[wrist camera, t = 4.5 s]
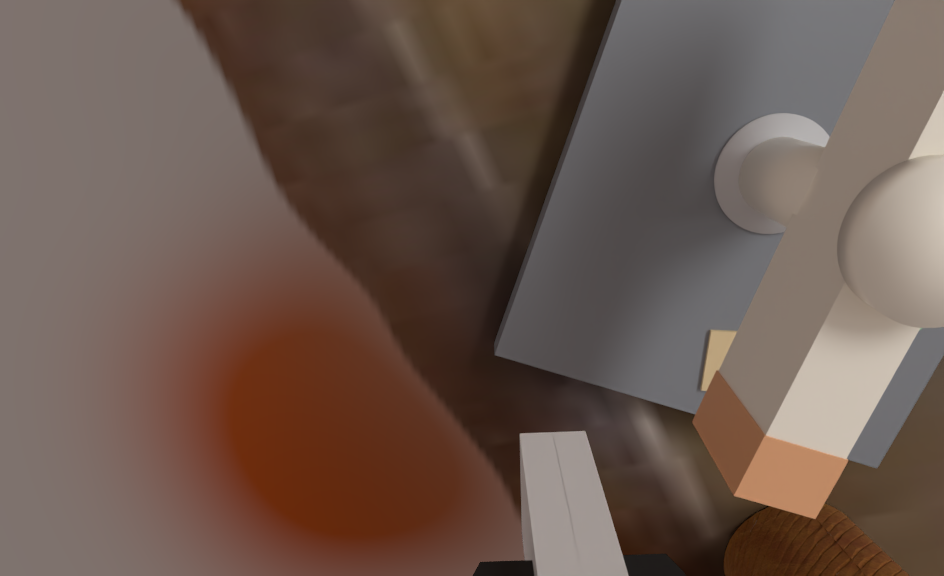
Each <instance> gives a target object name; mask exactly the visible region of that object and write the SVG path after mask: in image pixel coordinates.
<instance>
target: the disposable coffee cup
mask: <svg viewBox="0 0 944 576" xmlns="http://www.w3.org/2000/svg"><path fill="white" fill-rule="evenodd" d="M724 573H725V576H909V575H908V574H907V573H906V572H905V571H904V570H903V571H902V569H901V567H900V566H899V565H898V564H897V563H895V562H894V561H892V559H891V558H890V557H889V556H888V555H887V554H886V553H885V552H882V549H881V548H880V547H879V546H877V545H876V544H875V543H873V541H872V540H871V539H870V538H869V537H868V536H867V535H866V534H864V532H863V531H862V530H861V529H859V528H858V527H857V526H855V524H854V523H853V522H852V521H851V520H850V519H849V518H848V517H847V516H846V515H845V514H844V513H842V512H841V511H839V510H837V509H836V508H834V507H832V506H830V505H827V504H824V505H823V507H822V508H821V510H820V512H819V514H818V515H817V517H816V519H813V518H810V517H806V516H803V515H799V514H796V513H792V512H789V511H785V510H782V509H778V508H775V507H771V506H770V507H767V508H765V509H763V510H761V511H759V512H757V513H756V514H754V515H753V516H752V517H750V518H749V519H748V520H746V521H745V522H744V523H743V524H742V525H741V526H740V527H739V528H738V529H737V530H736V531H735V533H734V534H733V536H732V537H731V539H730V541H729V543H728V546H727V548H726V551H725V556H724Z"/></svg>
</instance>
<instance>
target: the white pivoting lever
mask: <svg viewBox="0 0 944 576" xmlns="http://www.w3.org/2000/svg"><path fill="white" fill-rule="evenodd" d="M739 188H740V192H741V194H742V196H743V198H744V200H745V201H746V202H747V203H748V205H750V206H751V207H752V208H753V209H755V210H757V211H759V212H760V213H762V214H764V215H765V216H767V217H769V218H771V219H772V220H774V221H776V222H777V223H779V224H781V225H783V226H784V227H786V230H785V232H784V234H783V237H782V239H781V241H780V243H779V245H778V247H777V249H776V251H775V253H774V255H773V258H772V260H771V262H770V264H769V266H768V268H767V270H766V272H765V274H764V276H763V279H762V281H761V283H760V285H759V287H758V289H757V291H756V293H755V295H754V297H753V300H752V302H751V304H750V306H749V308H748V310H747V312H746V314H745V316H744V318H743V321H742V323H741V325H740V327H739V329H738V331H737V333H736V335H735V337H734V339H733V342H732V344H731V346H730V348H729V350H728V352H727V354H726V356H725V358H724V360H723V363H722V365H721V367H720V369H719V371H718V370H716V372H715V374H714V376H713V378H712V381H711V383H710V385H709V387H708V389H707V391H706V393H705V395H704V397H703V400H702V402H701V404H700V406H699V408H698V410H697V412H696V414H695V416H694V419H693V421H692V423H693V425H694V426H695V428H696V430H697V432H698V433H699V435H700V437H701V439H702V441H703V442H704V444H705V446H706V448H707V449H708V451H709V453H710V455H711V456H712V458H713V460H714V462H715V463H716V465H717V467H718V469H719V471H720V472H721V474H722V476H723V478H724V479H725V481H726V483H727V485H728V486H729V488H730V490H731V492H732V493H733V495H734V496H736V497H740V498H743V499H747V500H750V501H754V502H757V503H761V504H764V505H768V506H771V507H775V508H778V509H782V510H785V511H789V512H792V513H796V514H799V515H803V516H806V517H810V518H813V519H816V517H817V515H818V514H819V512H820V510H821V508H822V507H823V505H824V503H825V501H826V500H827V498H828V496H829V494H830V493H831V491H832V489H833V487H834V486H835V484H836V482H837V480H838V479H839V477H840V475H841V473H842V472H843V470H844V468H845V466H846V464H847V463H848V459H847V457H848V455H849V453H850V451H851V450H852V448H853V446H854V444H855V443H856V441H857V439H858V437H859V436H860V434H861V432H862V430H863V428H864V427H865V425H866V423H867V421H868V420H869V418H870V416H871V414H872V413H873V411H874V409H875V407H876V406H877V404H878V402H879V400H880V398H881V397H882V395H883V393H884V391H885V390H886V388H887V386H888V384H889V383H890V381H891V379H892V377H893V376H894V374H895V372H896V370H897V368H898V367H899V365H900V363H901V361H902V360H903V358H904V356H905V354H906V353H907V351H908V349H909V347H910V346H911V344H912V342H913V340H914V339H915V337H916V335H917V333H918V331H919V330H920V328H938V327H944V0H895V1H894V3H893V5H892V8H891V10H890V12H889V14H888V16H887V18H886V20H885V22H884V24H883V26H882V29H881V31H880V33H879V35H878V37H877V39H876V41H875V43H874V45H873V47H872V50H871V52H870V54H869V56H868V58H867V60H866V62H865V64H864V66H863V68H862V71H861V73H860V75H859V77H858V79H857V81H856V83H855V85H854V87H853V89H852V92H851V94H850V96H849V98H848V100H847V102H846V104H845V106H844V108H843V110H842V113H841V115H840V117H839V119H838V121H837V123H836V125H835V127H834V129H833V131H832V134H831V136H830V138H829V140H828V142H827V144H826V146H825V147H822V146H819V145H815V144H812V143H808V142H805V141H801V140H798V139H794V138H790V137H776V138H772V139H769V140H766V141H764V142H762V143H761V144H759V145H758V146H756V147H755V148H754V149H753V150H752V151H751V152H750V153H749V154H748V155H747V157H746V158H745V160H744V162H743V164H742V166H741V169H740V173H739Z"/></svg>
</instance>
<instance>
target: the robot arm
mask: <svg viewBox="0 0 944 576" xmlns="http://www.w3.org/2000/svg"><path fill="white" fill-rule="evenodd" d="M520 473H521V517H522V539H523V548H524V558H525V561H498V562H497V561H496V562H480V563H479V565H478V567H477V569H476V571H475V573H474V574H473V576H686V575H685V573H684V572H683V571H682V570H681V569H680V568H679V567H678V566H677V565H676V564H675V563H674V562H673V561H672V560H671V559H670V558H669V557H668V556H667V555H666V554H645V555H622V552H621V548H620V545H619V542H618V538H617V535H616V532H615V528H614V525H613V522H612V518H611V515H610V512H609V508H608V505H607V502H606V498H605V495H604V492H603V488H602V485H601V482H600V478H599V475H598V472H597V468H596V465H595V462H594V458H593V455H592V452H591V449H590V445H589V442H588V439H587V435H586V432H585V431H572V432H545V433H520Z"/></svg>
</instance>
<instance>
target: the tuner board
mask: <svg viewBox="0 0 944 576" xmlns="http://www.w3.org/2000/svg"><path fill="white" fill-rule="evenodd" d="M894 1H895V0H616V2H615V5H614V8H613V10H612V13H611V16H610V19H609V22H608V24H607V27H606V30H605V33H604V36H603V38H602V41H601V44H600V47H599V50H598V52H597V55H596V58H595V61H594V64H593V67H592V69H591V72H590V75H589V78H588V81H587V83H586V86H585V89H584V92H583V95H582V97H581V100H580V103H579V106H578V109H577V111H576V114H575V117H574V120H573V123H572V125H571V128H570V131H569V134H568V137H567V140H566V142H565V145H564V148H563V151H562V154H561V156H560V159H559V162H558V165H557V168H556V170H555V173H554V176H553V179H552V182H551V184H550V187H549V190H548V193H547V196H546V198H545V201H544V204H543V207H542V210H541V213H540V215H539V218H538V221H537V224H536V227H535V229H534V232H533V235H532V238H531V241H530V243H529V246H528V249H527V252H526V255H525V257H524V260H523V263H522V266H521V269H520V271H519V274H518V277H517V280H516V283H515V286H514V288H513V291H512V294H511V297H510V300H509V302H508V305H507V308H506V311H505V314H504V316H503V319H502V322H501V325H500V328H499V330H498V333H497V336H496V339H495V342H494V354H495V355H496V356H500V357H503V358H506V359H510V360H513V361H516V362H520V363H523V364H527V365H530V366H533V367H537V368H540V369H543V370H547V371H550V372H554V373H557V374H560V375H564V376H567V377H570V378H574V379H577V380H581V381H584V382H587V383H591V384H594V385H597V386H601V387H604V388H608V389H611V390H614V391H618V392H621V393H624V394H628V395H631V396H635V397H638V398H641V399H645V400H648V401H651V402H655V403H658V404H662V405H665V406H668V407H672V408H675V409H678V410H682V411H685V412H689V413H692V414H696V412H697V410H698V408H699V406H700V404H701V402H702V400H703V397H704V395H705V393H706V391H707V389H708V387H709V385H710V383H711V381H712V378H713V376H714V374H715V372H716V370H718V371H719V369H720V367H721V365H722V363H723V360H724V358H725V356H726V354H727V352H728V350H729V348H730V346H731V344H732V342H733V339H734V337H735V335H736V333H737V331H738V329H739V327H740V325H741V323H742V321H743V318H744V316H745V314H746V312H747V310H748V308H749V306H750V304H751V302H752V300H753V297H754V295H755V293H756V291H757V289H758V287H759V285H760V283H761V281H762V279H763V276H764V274H765V272H766V270H767V268H768V266H769V264H770V262H771V260H772V258H773V255H774V253H775V251H776V249H777V247H778V245H779V243H780V241H781V239H782V237H783V234H784V232H785V230H786V227H784V226H783V225H781V224H779V223H777V222H776V221H774V220H772V219H771V218H769V217H767V216H765V215H764V214H762V213H760V212H759V211H757V210H755V209H753V208H752V207H751V206H750V205H748V203H747V202H746V201H745V200H744V198H743V196H742V194H741V192H740V188H739V173H740V169H741V166H742V164H743V162H744V160H745V158H746V157H747V155H748V154H749V153H750V152H751V151H752V150H753V149H754V148H755V147H756V146H758V145H759V144H761V143H762V142H764V141H766V140H769V139H772V138H776V137H790V138H794V139H798V140H801V141H805V142H808V143H812V144H815V145H819V146H822V147H825V146H826V144H827V142H828V140H829V138H830V136H831V134H832V131H833V129H834V127H835V125H836V123H837V121H838V119H839V117H840V115H841V113H842V110H843V108H844V106H845V104H846V102H847V100H848V98H849V96H850V94H851V92H852V89H853V87H854V85H855V83H856V81H857V79H858V77H859V75H860V73H861V71H862V68H863V66H864V64H865V62H866V60H867V58H868V56H869V54H870V52H871V50H872V47H873V45H874V43H875V41H876V39H877V37H878V35H879V33H880V31H881V29H882V26H883V24H884V22H885V20H886V18H887V16H888V14H889V12H890V10H891V8H892V5H893V3H894ZM943 355H944V327H938V328H920V330H919V331H918V333H917V335H916V337H915V339H914V340H913V342H912V344H911V346H910V347H909V349H908V351H907V353H906V354H905V356H904V358H903V360H902V361H901V363H900V365H899V367H898V368H897V370H896V372H895V374H894V376H893V377H892V379H891V381H890V383H889V384H888V386H887V388H886V390H885V391H884V393H883V395H882V397H881V398H880V400H879V402H878V404H877V406H876V407H875V409H874V411H873V413H872V414H871V416H870V418H869V420H868V421H867V423H866V425H865V427H864V428H863V430H862V432H861V434H860V436H859V437H858V439H857V441H856V443H855V444H854V446H853V448H852V450H851V451H850V453H849V455H848V457H847V459H848V460H851V461H854V462H857V463H861V464H864V465H867V466H871V467H874V468H878V466H879V465H880V463H881V461H882V459H883V458H884V456H885V454H886V453H887V451H888V449H889V447H890V446H891V444H892V442H893V441H894V439H895V437H896V436H897V434H898V432H899V430H900V429H901V427H902V425H903V424H904V422H905V420H906V418H907V417H908V415H909V413H910V412H911V410H912V408H913V407H914V405H915V403H916V401H917V400H918V398H919V396H920V395H921V393H922V391H923V389H924V388H925V386H926V384H927V383H928V381H929V379H930V378H931V376H932V374H933V372H934V371H935V369H936V367H937V366H938V364H939V362H940V360H941V359H942V357H943Z"/></svg>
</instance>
